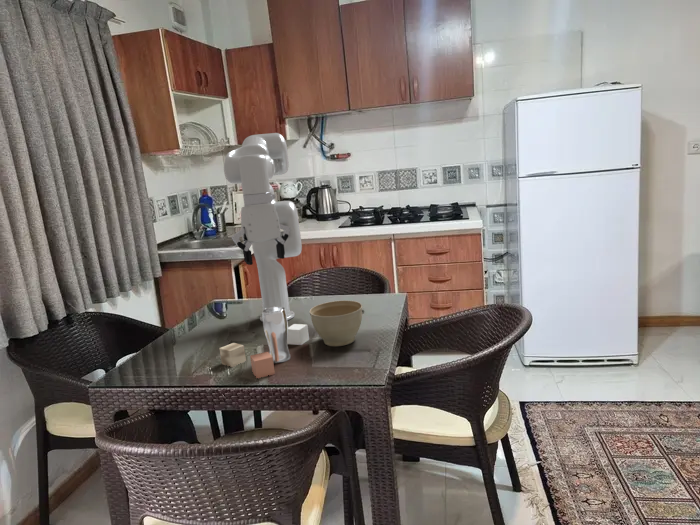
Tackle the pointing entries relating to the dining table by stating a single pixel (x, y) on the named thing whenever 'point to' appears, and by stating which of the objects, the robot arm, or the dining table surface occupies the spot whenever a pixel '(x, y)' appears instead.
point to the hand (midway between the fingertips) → (265, 261)
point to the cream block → (297, 334)
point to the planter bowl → (337, 321)
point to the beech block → (232, 354)
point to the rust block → (262, 364)
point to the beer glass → (276, 332)
